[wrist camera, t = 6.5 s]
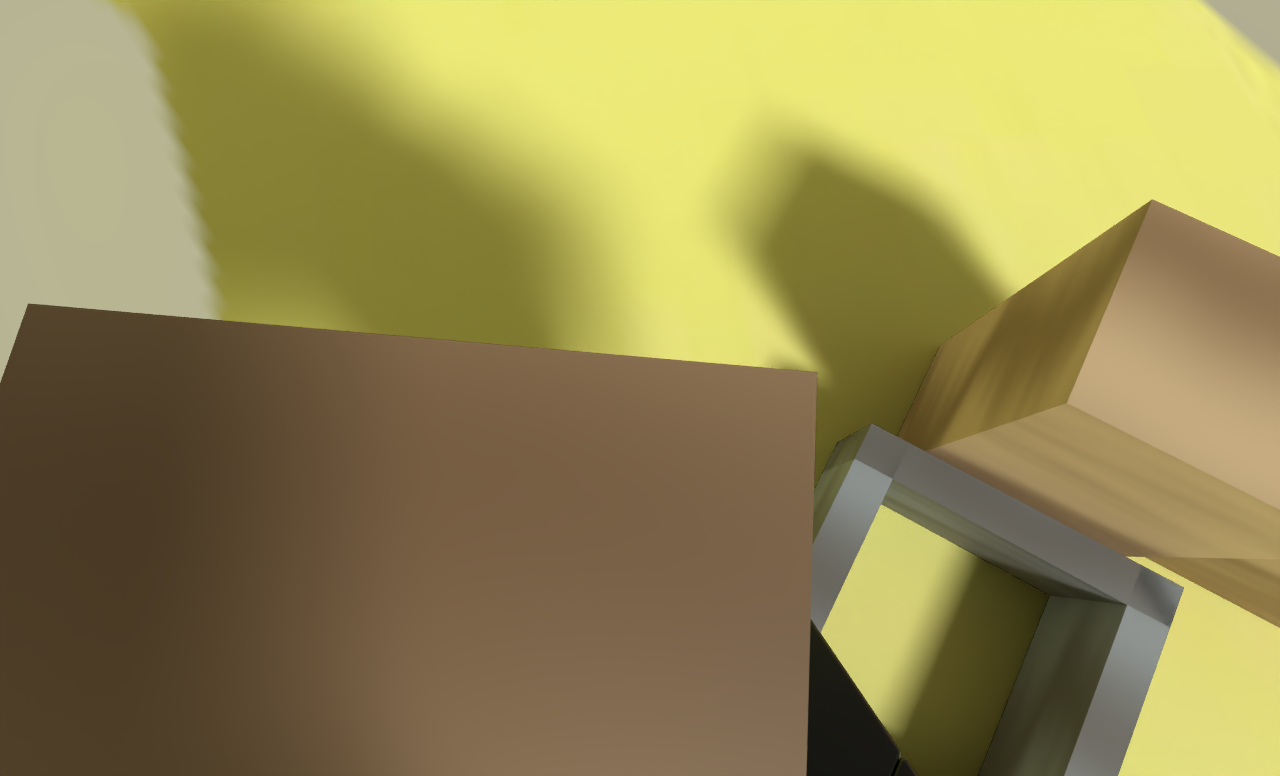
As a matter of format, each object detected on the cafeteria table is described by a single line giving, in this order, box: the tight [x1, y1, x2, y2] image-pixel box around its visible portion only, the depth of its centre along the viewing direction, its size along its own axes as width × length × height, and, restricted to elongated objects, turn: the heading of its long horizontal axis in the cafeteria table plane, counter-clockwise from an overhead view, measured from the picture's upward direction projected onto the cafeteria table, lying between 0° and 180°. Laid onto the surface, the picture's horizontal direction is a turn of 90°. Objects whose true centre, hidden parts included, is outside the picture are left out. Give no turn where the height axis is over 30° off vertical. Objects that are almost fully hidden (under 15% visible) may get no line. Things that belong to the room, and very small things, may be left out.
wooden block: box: [0, 304, 817, 776], centre depth 9 cm, size 5×5×12 cm
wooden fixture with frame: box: [811, 199, 1280, 776], centre depth 16 cm, size 14×20×10 cm
